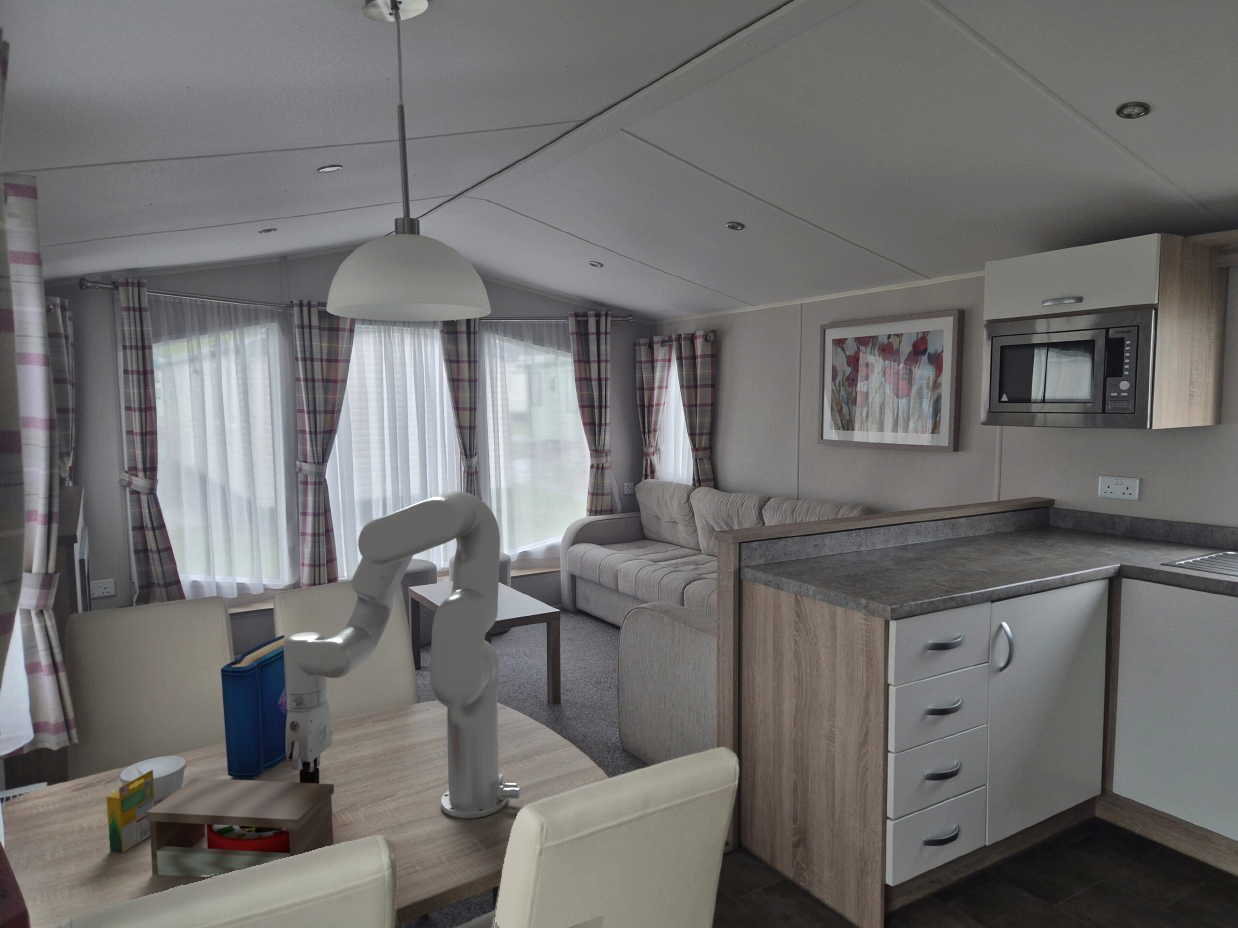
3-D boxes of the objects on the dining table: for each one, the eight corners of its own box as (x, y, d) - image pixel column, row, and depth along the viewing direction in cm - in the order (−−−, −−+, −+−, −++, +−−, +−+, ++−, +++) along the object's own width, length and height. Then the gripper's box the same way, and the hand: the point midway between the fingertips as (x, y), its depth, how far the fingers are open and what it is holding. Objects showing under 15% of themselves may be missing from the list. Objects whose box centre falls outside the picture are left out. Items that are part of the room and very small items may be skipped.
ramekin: (107, 804, 151) (105, 777, 151) (153, 778, 162) (152, 753, 162) (155, 809, 149) (154, 783, 148) (199, 783, 159) (198, 757, 159)
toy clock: (312, 773, 151) (347, 814, 135) (313, 802, 151) (348, 846, 135) (196, 805, 138) (219, 855, 123) (198, 837, 139) (221, 890, 123)
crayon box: (143, 829, 141) (140, 767, 141) (157, 831, 141) (154, 768, 140) (108, 851, 134) (105, 786, 133) (122, 853, 133) (119, 787, 133)
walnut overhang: (335, 842, 136) (333, 783, 136) (300, 883, 124) (297, 819, 124) (197, 834, 139) (194, 777, 139) (149, 874, 127) (146, 811, 127)
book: (251, 784, 158) (246, 664, 157) (221, 782, 160) (215, 662, 158) (313, 741, 179) (309, 634, 178) (286, 739, 181) (282, 633, 179)
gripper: (305, 712, 144) (309, 808, 145) (342, 684, 159) (345, 772, 160) (267, 711, 145) (271, 806, 146) (307, 683, 160) (310, 770, 161)
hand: (309, 788), depth 153 cm, fingers closed
